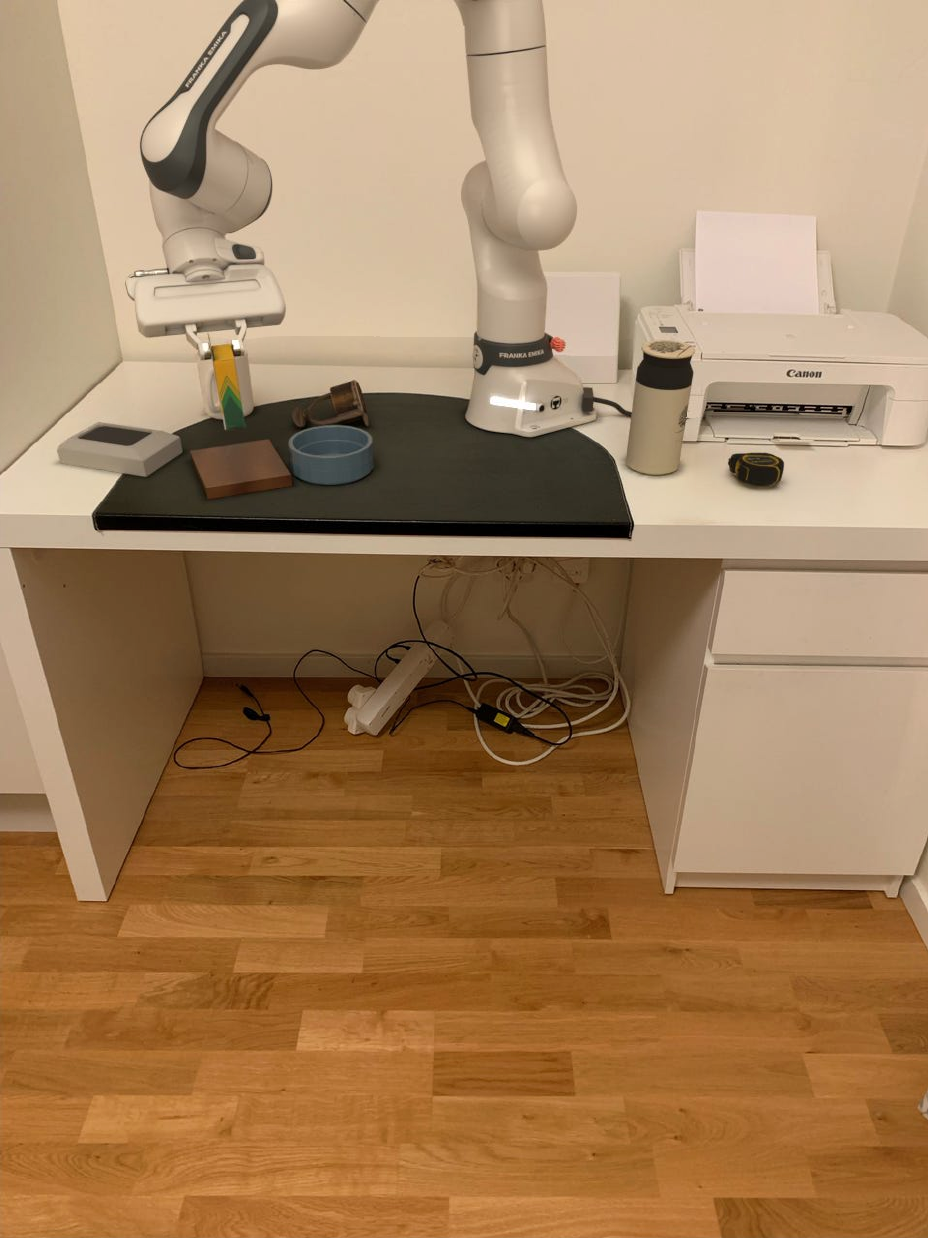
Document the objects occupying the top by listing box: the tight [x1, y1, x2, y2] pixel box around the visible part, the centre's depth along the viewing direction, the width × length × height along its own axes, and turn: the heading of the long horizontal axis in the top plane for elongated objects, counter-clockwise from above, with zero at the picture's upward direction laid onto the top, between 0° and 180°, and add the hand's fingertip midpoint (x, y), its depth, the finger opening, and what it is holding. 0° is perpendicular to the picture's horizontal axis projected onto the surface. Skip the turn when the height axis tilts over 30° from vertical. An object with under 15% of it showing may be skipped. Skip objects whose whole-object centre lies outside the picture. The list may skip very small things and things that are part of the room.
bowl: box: [288, 424, 375, 486], centre depth 130 cm, size 12×12×4 cm
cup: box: [195, 347, 255, 420], centre depth 146 cm, size 8×12×10 cm
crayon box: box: [206, 332, 246, 431], centre depth 121 cm, size 7×3×12 cm, turn 17°
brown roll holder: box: [291, 379, 370, 429], centre depth 144 cm, size 7×13×10 cm
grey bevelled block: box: [56, 421, 183, 477], centre depth 132 cm, size 10×4×15 cm
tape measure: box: [727, 452, 785, 487], centre depth 128 cm, size 7×7×4 cm
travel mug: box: [625, 339, 696, 476], centre depth 128 cm, size 8×8×18 cm
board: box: [189, 439, 293, 500], centre depth 129 cm, size 12×14×2 cm
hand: (223, 356), depth 120 cm, fingers closed on crayon box, 3 cm apart
